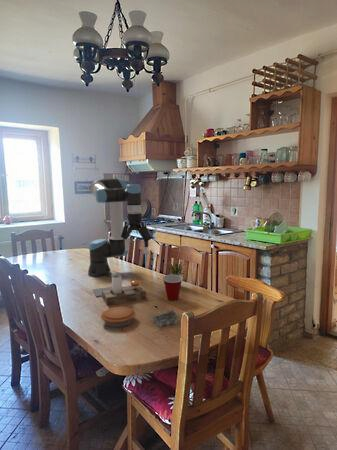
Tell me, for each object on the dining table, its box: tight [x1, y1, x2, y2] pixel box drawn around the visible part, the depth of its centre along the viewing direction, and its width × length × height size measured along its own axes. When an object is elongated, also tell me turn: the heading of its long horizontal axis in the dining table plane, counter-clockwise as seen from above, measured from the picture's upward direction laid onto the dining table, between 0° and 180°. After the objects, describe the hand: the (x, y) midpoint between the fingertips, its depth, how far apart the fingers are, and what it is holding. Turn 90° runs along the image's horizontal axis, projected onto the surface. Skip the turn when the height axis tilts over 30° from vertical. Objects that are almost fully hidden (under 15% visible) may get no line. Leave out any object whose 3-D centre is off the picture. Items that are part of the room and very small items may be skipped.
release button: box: [130, 279, 140, 290], centre depth 174 cm, size 4×4×6 cm
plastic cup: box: [162, 273, 184, 302], centre depth 169 cm, size 11×11×12 cm
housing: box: [101, 284, 147, 306], centre depth 172 cm, size 13×21×4 cm, turn 113°
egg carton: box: [152, 309, 179, 328], centre depth 142 cm, size 11×8×4 cm
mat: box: [92, 286, 112, 298], centre depth 183 cm, size 12×12×1 cm
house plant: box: [166, 260, 186, 288], centre depth 188 cm, size 14×14×16 cm
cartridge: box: [111, 272, 123, 295], centre depth 170 cm, size 5×5×14 cm
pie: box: [100, 306, 136, 328], centre depth 144 cm, size 15×16×5 cm
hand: (136, 251), depth 173 cm, fingers open, 13 cm apart
